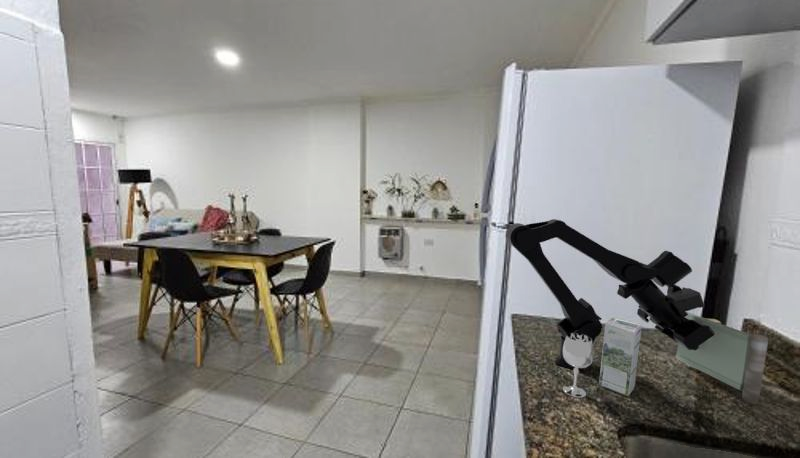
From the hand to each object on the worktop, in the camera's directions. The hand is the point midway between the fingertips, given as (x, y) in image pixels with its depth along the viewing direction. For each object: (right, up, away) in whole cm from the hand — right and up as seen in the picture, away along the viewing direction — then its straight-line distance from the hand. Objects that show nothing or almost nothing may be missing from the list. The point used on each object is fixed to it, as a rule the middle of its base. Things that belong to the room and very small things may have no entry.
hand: (694, 347), depth 83 cm
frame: (+5, -7, -3) cm, 9 cm away
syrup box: (-22, -7, -6) cm, 24 cm away
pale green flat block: (+1, -5, -2) cm, 6 cm away
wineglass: (-33, -7, -9) cm, 35 cm away
